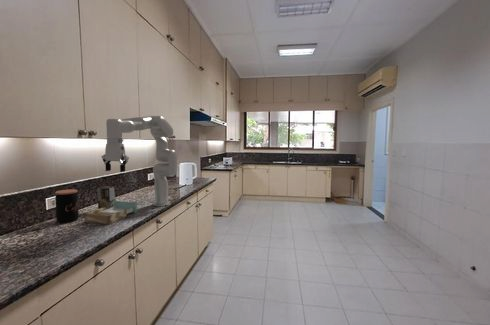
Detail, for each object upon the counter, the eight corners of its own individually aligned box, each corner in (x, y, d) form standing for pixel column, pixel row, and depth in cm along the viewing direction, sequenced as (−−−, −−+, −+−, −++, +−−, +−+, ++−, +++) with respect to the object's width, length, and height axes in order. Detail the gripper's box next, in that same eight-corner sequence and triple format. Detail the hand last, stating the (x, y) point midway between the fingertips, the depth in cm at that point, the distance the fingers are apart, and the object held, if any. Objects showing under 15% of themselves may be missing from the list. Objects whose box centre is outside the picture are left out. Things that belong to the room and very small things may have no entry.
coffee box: (116, 208, 163) (115, 186, 162) (110, 211, 157) (109, 188, 156) (104, 208, 164) (103, 186, 163) (97, 211, 158) (96, 187, 156)
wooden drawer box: (104, 214, 151) (104, 207, 150) (126, 217, 147) (126, 209, 146) (85, 221, 137) (84, 213, 136) (109, 224, 133) (109, 216, 133)
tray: (115, 210, 160) (115, 200, 159) (136, 212, 156) (136, 202, 155) (98, 216, 146) (98, 205, 146) (121, 218, 142) (121, 208, 142)
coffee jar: (66, 224, 132) (65, 193, 131) (51, 222, 134) (50, 192, 133) (83, 218, 143) (82, 189, 141) (69, 216, 145) (67, 188, 143)
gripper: (132, 141, 132) (133, 171, 133) (107, 140, 136) (107, 169, 137) (122, 141, 125) (123, 172, 126) (96, 140, 128) (97, 171, 130)
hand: (115, 171), depth 132 cm, fingers open, 9 cm apart
